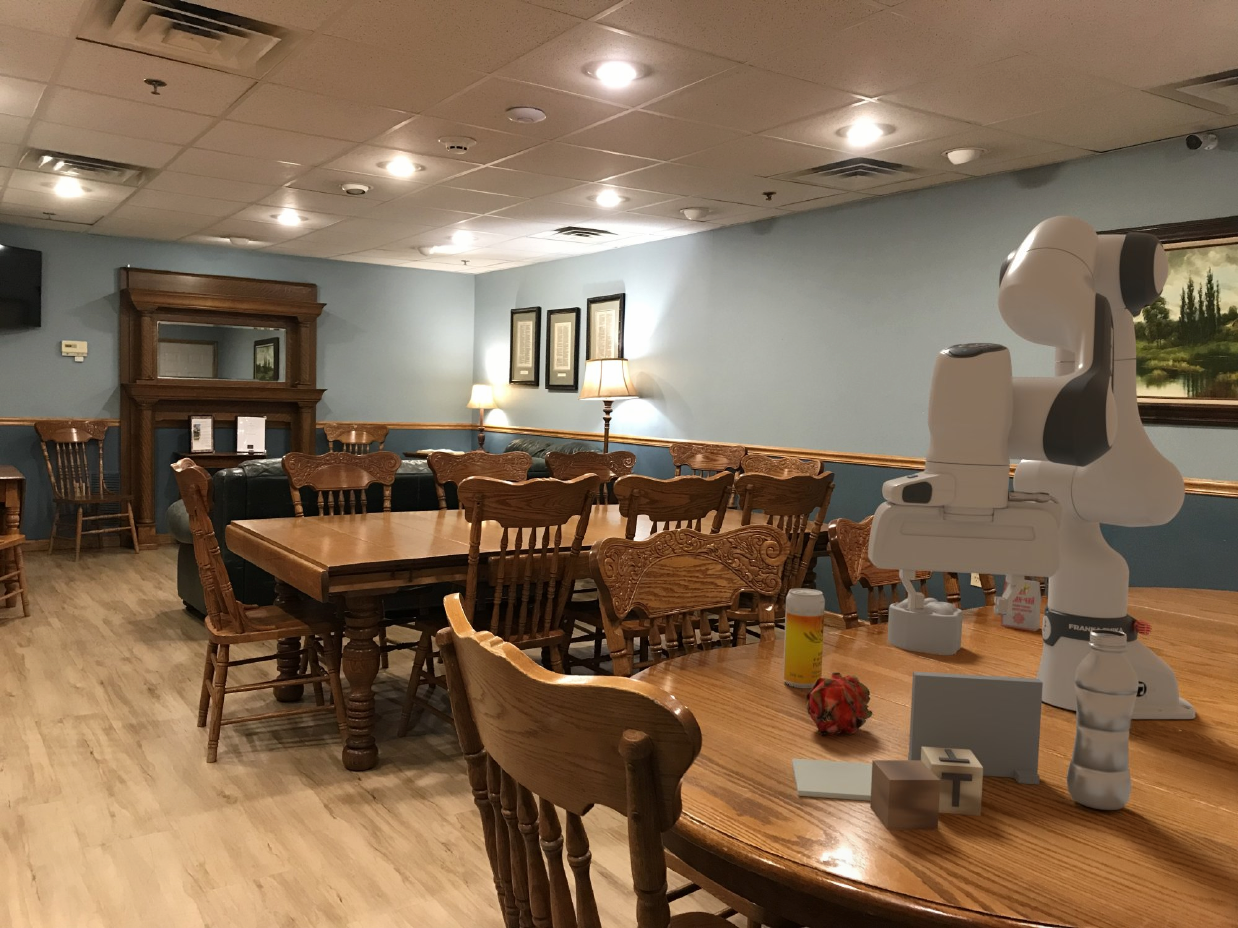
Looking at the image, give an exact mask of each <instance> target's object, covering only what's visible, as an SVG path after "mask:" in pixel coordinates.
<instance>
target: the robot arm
mask: <svg viewBox="0 0 1238 928" xmlns="http://www.w3.org/2000/svg"><path fill="white" fill-rule="evenodd" d="M1003 259H1004V260H1003V261H1002V263H1001V266H1000V271H999V277H998V296H997V297H998V299H997V304H998V310H999V312H1000V315H1001V317H1002V319H1003V321H1004V323H1005V324H1006V325H1007V326H1008V327H1009V329H1010V330H1011V331H1013V332H1014V334H1016V335H1017V336H1019V337H1020V338H1022V339H1024V340H1026V341H1028V342H1030V343H1033V344H1037V345H1041V346H1047V347H1054V348H1055V352H1054V354H1055V355H1054V361H1055V363H1054V376H1013V368H1012V367H1013V366H1012V359H1011V352H1010V349H1009V348H1008V347H1006V346H1005V345H1003V344H1000V343H993V342H975V343H973V342H972V343H971V342H970V343H969V342H968V343H964V344H961V343H960V344H954V345H948V346H946V347H945V348H943V349H941V350H939V352H938V353H937V357H936V359H935V364H934V367H933V371H932V377H931V382H930V384H931V385H930V390H929V391H930V392H929V397H928V399H929V400H928V407H927V409H928V410H927V426H928V429H929V435H930V437H929V438H930V442H929V446H928V450H927V453H926V456H925V465H924V466H925V467H924V470H923V471H920V472H917V473H912V474H910V475H905V476H900V477H897V478H893V479H890V480H886V481H885V482H883V485H882V489H881V491H882V496H883V498H884V500H886V501H884V502H882V503H881V504H879V505H878V507H877V508H876V510H875V512H874V515H873V518H872V522H871V526H870V527H871V528H870V532H869V533H870V534H869V540H868V545H867V547H868V548H867V556H868V559H869V561H870V563H872V564H873V566H875V567H876V568H877V569H885V570H886V569H887V570H898V571H899V573H898V577H899V579H900V581H901V582H902V583H901V584H902V585H903V586H904V588H905V590H906V592H907V598H908V608H909V609H910V610H924V605H923V602H924V599H926V597H925V595H924V594H923V593H922V592H919V591H916V589H915V588H914V585H913V584H912V581H915V580H916V571H922V572H923V571H924V572H926V571H927V572H941V573H943V572H945V573H961V574H983V575H985V574H986V575H999V576H1000V575H1003V576H1004V575H1005V578H1006V581H1007V582H1008V583H1010V584H1009V586H1008V588H1007V589H1006V591H1005V592H1004V594H1003V593H1002V596H994V599H993V602H994V605H993V612H994V614H996V615H999V616H1001V615H1011V613H1012V600H1014V599H1015V598H1016V596H1017V595H1018V593H1019V592H1020V591H1021V589H1022V588H1023V587H1024V580H1025V577H1042V578H1043V577H1044V578H1048V593H1047V594H1048V595H1047V605H1045V606H1044V611H1043V616H1042V627H1041V632H1042V633H1041V634H1042V641H1043V647H1042V653H1041V658H1040V663H1039V667H1038V670H1037V673H1036V678H1035V679H1039V680H1040V681H1042V682H1043V688H1042V702H1044V703H1047V704H1049V705H1052V706H1055V707H1058V708H1063V709H1065V710H1070V711H1074V712H1076V709H1077V706H1076V694H1075V683H1074V674H1075V672H1076V669H1077V667H1078V666H1079V664H1080V663H1081V662H1082V660H1083V659H1084V658H1085V657H1086V656H1087V655H1088V654H1089V653H1090V652H1091V649H1092V648H1090V647H1089V642H1090V632H1091V630H1093V629H1106V630H1114V631H1119V632H1122V633H1125V634H1126V636H1127V643H1126V646H1127V652H1124V656H1125V658H1126V659H1127V660H1128V662H1129V663H1130V664H1131V666H1132V668H1133V669H1134V671H1135V673H1136V675H1137V678H1138V683H1139V685H1138V691H1137V695H1136V699H1135V704H1134V708H1133V712H1132V717H1131V720H1193V719H1195V718H1196V710H1195V707H1194V706H1193V705H1192V703H1190V702H1188V700H1186V699H1185V698H1183V697H1181V696H1180V691H1179V685H1178V679H1177V675H1176V673H1175V671H1174V670H1173V669H1172V667H1171V666H1170V665H1169V664H1168V663H1166V662H1165V661H1164V660H1163V659H1162V658H1160V657H1159V656H1158V655H1157V654H1156V653H1154V651H1152V650H1151V649H1150V648H1149V647H1148V646H1146V645H1145V644H1144V643H1143V642H1141V640H1139V639H1138V634H1140V635H1142V636H1148V635H1150V633H1152V631H1153V627H1152V625H1151V624H1150V623H1149V622H1147V621H1145V620H1144V619H1143V620H1142V619H1136V618H1135V617H1134V616H1131V615H1130V614H1128V613H1127V612H1128V611H1127V610H1128V597H1129V596H1128V595H1129V583H1130V582H1129V581H1130V568H1129V566H1128V563H1127V560H1126V559H1125V558H1124V557H1123V555H1121V554H1120V552H1117V551H1116V550H1115V549H1113V548H1112V547H1111V546H1110V545H1109V544H1108V542H1107V541H1106V539H1105V538H1104V536H1103V533H1102V530H1101V527H1100V524H1107V525H1111V526H1112V525H1113V526H1119V527H1120V526H1121V527H1127V528H1136V527H1137V528H1138V527H1139V528H1140V527H1154V526H1161V525H1163V526H1164V525H1165V524H1168V523H1169V522H1171V520H1172V519H1174V518H1175V517H1176V516H1177V515H1178V513H1179V512H1180V510H1181V508H1182V506H1183V504H1184V501H1185V497H1186V495H1185V494H1186V487H1185V485H1186V484H1185V481H1184V479H1183V476H1182V474H1181V472H1180V470H1179V469H1178V468H1177V466H1176V465H1175V464H1174V463H1172V462H1171V461H1170V460H1169V459H1168V458H1166V457H1165V456H1164V455H1163V454H1162V453H1161V452H1160V451H1159V450H1158V449H1157V447H1155V445H1154V444H1153V442H1152V440H1151V439H1150V438H1149V436H1148V434H1147V432H1146V429H1145V428H1144V425H1143V422H1142V420H1141V417H1140V416H1141V415H1140V412H1139V406H1138V394H1137V393H1138V391H1137V344H1136V343H1137V342H1136V333H1135V332H1136V331H1135V323H1134V322H1135V321H1134V318H1136V317H1139V316H1140V314H1141V313H1142V310H1144V309H1146V308H1148V307H1150V306H1152V305H1153V304H1154V303H1155V302H1156V301H1157V300H1158V299H1159V298H1160V297H1161V296H1162V294H1163V291H1164V287H1165V285H1166V283H1167V279H1168V275H1169V261H1168V256H1167V253H1166V251H1165V249H1164V245H1163V243H1162V241H1161V239H1159V238H1158V237H1157V236H1156V235H1155V234H1152V233H1148V232H1147V233H1146V232H1137V231H1135V232H1133V231H1132V232H1131V231H1129V232H1127V233H1126V234H1118V233H1117V234H1098V233H1097V232H1096V231H1095V229H1094V228H1093V226H1091V224H1089V222H1086V221H1085V220H1084V219H1081V218H1079V217H1076V216H1073V215H1072V216H1071V215H1056V216H1055V215H1054V216H1053V217H1049V218H1047V219H1044V220H1042V221H1041V222H1040V223H1038V224H1037V225H1035V227H1034V228H1032V230H1031V231H1030V232H1029V233H1028V234H1027V236H1026V237H1025V238H1024V240H1023V241H1022V242H1021V244H1020V245H1019V246H1018V248H1016V249H1014V250H1012V251H1010V253H1008V254H1007V256H1006V258H1003ZM1011 460H1018V461H1019V460H1020V462H1019V463H1018V465H1017V466H1016V469H1015V470H1014V474H1013V479H1012V480H1013V482H1012V483H1013V485H1012V487H1013V490H1009V486H1010V469H1011V468H1010V466H1011Z"/></svg>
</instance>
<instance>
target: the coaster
mask: <svg viewBox="0 0 1238 928" xmlns="http://www.w3.org/2000/svg"><path fill="white" fill-rule="evenodd" d="M791 764H792V770H793V776H794V781H795V787H796V791H797V796H799V797H800V796H801V797H812V798H827V799H839V800H841V799H842V800H853V801H855V800H856V801H869V802H871V781H872V763H869V762H867V763H866V762H854V761H853V762H851V761H836V760H824V759H823V760H822V759H812V758H811V759H810V758H807V759H806V758H793V757H792V758H791Z"/></svg>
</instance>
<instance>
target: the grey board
mask: <svg viewBox="0 0 1238 928" xmlns="http://www.w3.org/2000/svg"><path fill="white" fill-rule="evenodd" d="M911 686H912V687H911V704H910V723H909V724H910V725H909V743H908V757H907V759H908V760H921V747H936V748H952V749H967V750H971V751H972V753H973V754H974V756H975V757H976V758H977V760H978V761H979V763H980V764H981V765H982V767H983V777H985V776H987V777H997V778H999V777H1000V778H1001V777H1002V778H1012V779H1014V780H1016V782H1017V783H1018V784H1025V785H1040V775H1039V774H1038V771H1039V770H1038V769H1039V756H1040V755H1039V754H1040V753H1039V751H1040V739H1041V738H1040V736H1041V719H1042V718H1041V716H1042V704H1043V703H1042V702H1043V701H1042V688H1043V682H1042V681H1040V680H1039V679H1036V678H1031V677H1030V678H1029V677H1017V676H1016V677H1015V676H1014V677H1012V676H1010V677H1009V676H998V675H997V676H995V675H978V674H965V673H964V674H961V673H946V672H945V673H944V672H930V671H929V672H928V671H927V672H926V671H912V685H911Z"/></svg>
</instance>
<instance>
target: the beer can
mask: <svg viewBox="0 0 1238 928" xmlns="http://www.w3.org/2000/svg"><path fill="white" fill-rule="evenodd" d="M823 594H824V593H823V592H822V591H821V590H818V589H814V588H813V589H811V588H791V589H789V591H788V593H787V595H786V596H785V620H784V639H783V641H784V642H783V645H784V646H783V662H782V663H783V666H782V668H783V669H782V679H783V680H784V681H785V683H786V685H788V684H789V685H788V686H791V687H793V686H794V687H793V688H797V689H798V688H799V689H811V688H812V687H813V685H814V683H815V682H816V681H817V680H818V679H819V678H822V671H823V649H824V630H825V629H824V627H825V625H824V624H825V623H824V622H825V607H826V604H825V603H826V599H825V597H824V595H823Z"/></svg>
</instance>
